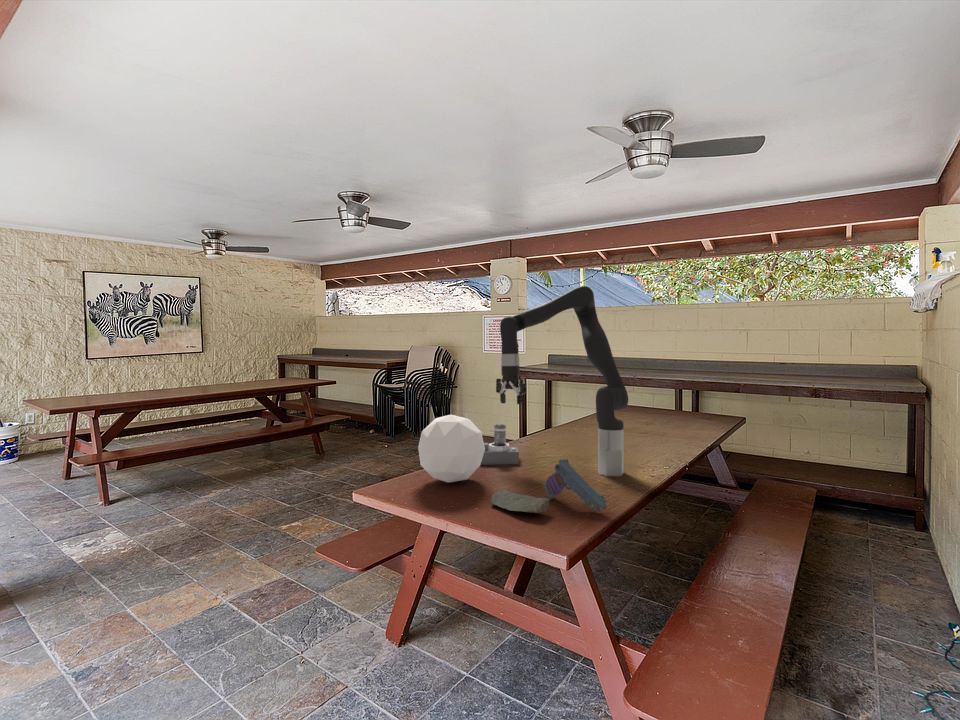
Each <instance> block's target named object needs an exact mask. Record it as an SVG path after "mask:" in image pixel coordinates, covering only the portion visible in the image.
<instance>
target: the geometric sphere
mask: <svg viewBox="0 0 960 720" xmlns="http://www.w3.org/2000/svg"><path fill="white" fill-rule="evenodd" d="M484 443H485V442H484V438H483V433H482V430H480V429H479V428H478V427H477V426H476V425H475V424H474V422H472V421H471V419H469V418H466V417H462V416H458V415H454V414H447V415H443V416H439V417H436V418H434V419H433V420H432V421H431V422H430V423H429V424H428V425H426V427H425V428H424V429H423V430H422V431H421V433H420V438H419V442H418V447H417V450H418V455H419V462H420V467H421V468H423V469H424V470H425V471H426V472H427V473H428V474H429V475H430V476H431V477H432V478H433V479H435V480H439V481H441V482H444V483H455V482H459V481H466V480H468V479H469V478H470V477H471V476H472V475H473V474H474V473H475V472H476V470H477V469H478V468H479V467H480V466H481V465H480V464H481V461H482V458H483V455H484V451H485V446H484Z"/></svg>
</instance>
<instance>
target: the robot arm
mask: <svg viewBox="0 0 960 720" xmlns="http://www.w3.org/2000/svg"><path fill="white" fill-rule="evenodd" d="M569 309H573V310H574V313H575V315H576V316H577V319H578V322H579V325H580V328H581V329H580V330H581V335H582V341H583V344H584V349H585V352H586V356H587V357H588V360H589V361H590V363H591V364H592V365H593V366H594V367H595V368H596V369H597V371H598V372H599V373H600V374H601V375H602V377H603V378H604V381H605V384H606V386H602V387H599V388H598V389H597V391H596V394H595V411H596V412H595V413H596V414H595V415H596V421H597V424H598V429H597V430H598V437H597V438H598V440H597V441H598V442H597V443H598V446H597V447H598V450H597V451H598V452H597V454H598V456H597V461H598V462H597V463H598V465H597V466H598V467H597V468H598V474H600V475H601V476H604V477H623V475H624V421H622V420H621V419H618V418H617V417H616V416H615V411H620V410H624V409H626V408H627V407H628V405H629V394H628V391H627V388H626V386H625V384H624V382H623V379H622V377H621V374H620V372H619V370H618V367H617V364H616V361H615V358H614V356H613V352H612V349H611V346H610V343H609V340H608V336H607V334H606V333H605V331H604V329H603V327H602V326H601V323H600V321H599V318H598V313H597V309H596V303H595V293H594V291H593V290H592V288H591V287H590V286H587V285H580V286H577V287H575V288H573V289H571V290H570V291H567V292H566V293H565V294H562V295H560V296H559V297H558V296H557V297H556V298H554V299H552V300H550V301H547V302H545V303H543V304H539V305H538V306H535V307H532V308H529V309H526V310H524V311H522V312H521V313H518V314H515V315H512V316H505V317H503V318H502V319H501V320H500V324H499V326H500V327H499V328H500V329H499V330H500V338H501V339H500V340H501V359H500V361H501V364H500V365H501V366H500V367H501V372H500V373H501V377H502V378H496V379H495V380H496V381H495V385H496V386H495V393H497V394H499V397H500V403H501V404H506V398H507V397H506V392H507V391H508V390H513V391H514V392H515V394H516V404H517V405H522V403H523V395H525V394H527V382H526V379H525V378H521V379H520V378H519V377H520V369H521V368H520V356H519V342H518V332H520V331H523V330H525V329H526V328H531V327H534V326H537V325H539V324H543V323H544V322H546V321H549V320H551V319H552V318H553V317H555V316H557V315H558V314H559V313H561V312H564V311H566V310H569Z"/></svg>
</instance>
